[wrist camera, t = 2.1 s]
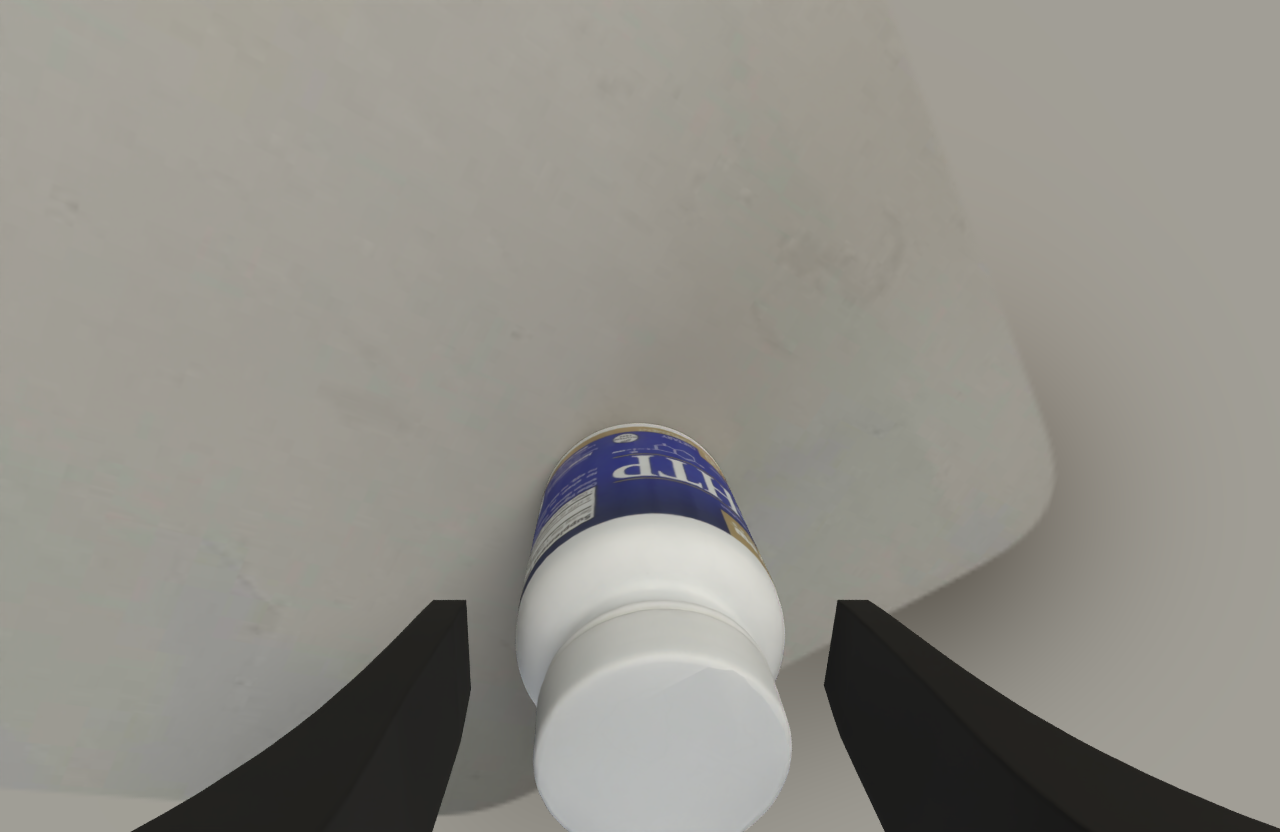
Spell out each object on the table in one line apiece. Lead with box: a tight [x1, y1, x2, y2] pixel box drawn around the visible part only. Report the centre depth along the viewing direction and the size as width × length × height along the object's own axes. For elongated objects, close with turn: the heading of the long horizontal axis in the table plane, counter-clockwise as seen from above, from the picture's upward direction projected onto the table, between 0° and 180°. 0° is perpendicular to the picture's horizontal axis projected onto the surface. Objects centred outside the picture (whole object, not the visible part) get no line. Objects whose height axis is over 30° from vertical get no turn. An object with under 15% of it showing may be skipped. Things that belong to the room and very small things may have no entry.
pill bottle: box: [515, 423, 792, 832], centre depth 14 cm, size 5×5×9 cm
